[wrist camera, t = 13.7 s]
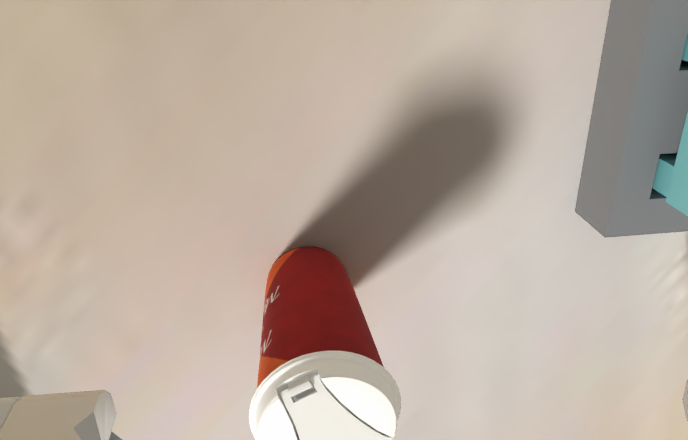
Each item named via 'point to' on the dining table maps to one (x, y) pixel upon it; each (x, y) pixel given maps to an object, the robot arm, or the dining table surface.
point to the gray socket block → (636, 119)
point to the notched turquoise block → (675, 168)
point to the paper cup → (319, 358)
